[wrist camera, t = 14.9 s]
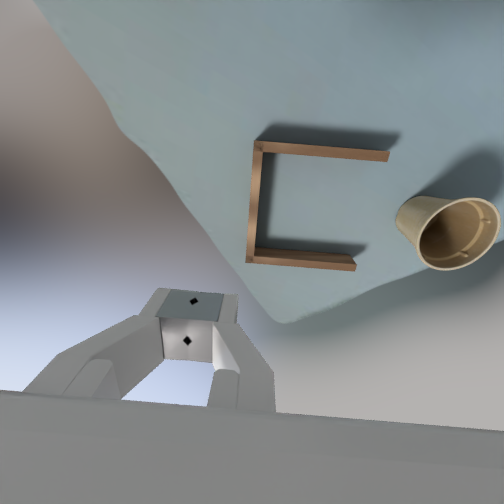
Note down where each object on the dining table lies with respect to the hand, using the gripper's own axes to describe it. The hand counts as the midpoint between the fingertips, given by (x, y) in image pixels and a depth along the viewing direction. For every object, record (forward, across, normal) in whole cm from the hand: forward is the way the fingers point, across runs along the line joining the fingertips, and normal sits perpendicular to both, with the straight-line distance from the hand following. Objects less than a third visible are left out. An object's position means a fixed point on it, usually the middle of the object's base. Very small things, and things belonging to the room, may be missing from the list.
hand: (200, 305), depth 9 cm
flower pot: (+29, -26, +3) cm, 40 cm away
